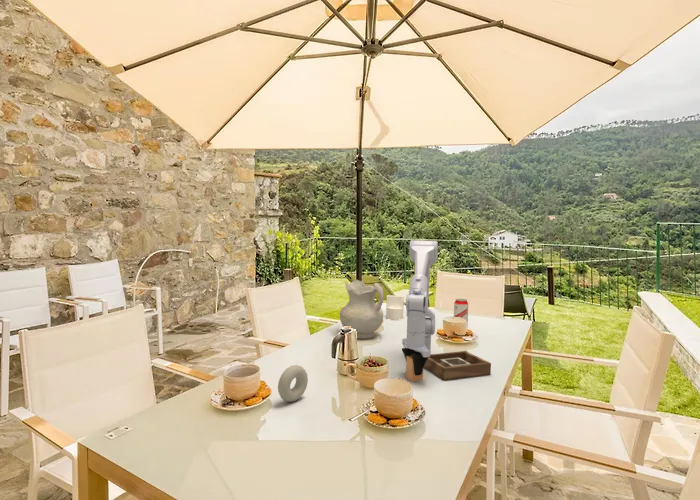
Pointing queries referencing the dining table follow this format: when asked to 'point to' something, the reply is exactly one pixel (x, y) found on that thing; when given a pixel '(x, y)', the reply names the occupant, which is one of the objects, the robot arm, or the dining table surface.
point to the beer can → (461, 309)
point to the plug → (412, 370)
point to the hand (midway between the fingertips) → (414, 372)
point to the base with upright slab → (394, 307)
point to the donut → (286, 381)
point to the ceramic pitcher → (363, 309)
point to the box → (457, 365)
